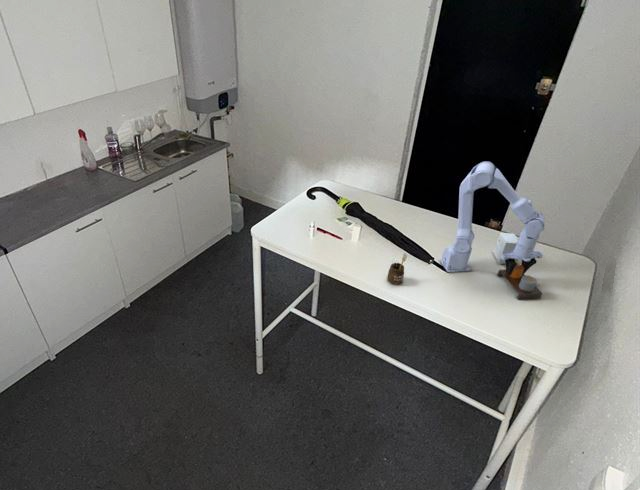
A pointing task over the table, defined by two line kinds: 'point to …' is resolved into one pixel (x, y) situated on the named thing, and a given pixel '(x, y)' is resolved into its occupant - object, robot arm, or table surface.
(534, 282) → the grey tape
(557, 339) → the table surface
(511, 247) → the small box
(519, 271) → the orange tape
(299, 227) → the table surface
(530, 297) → the brown rectangular block
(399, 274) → the utensil holder
